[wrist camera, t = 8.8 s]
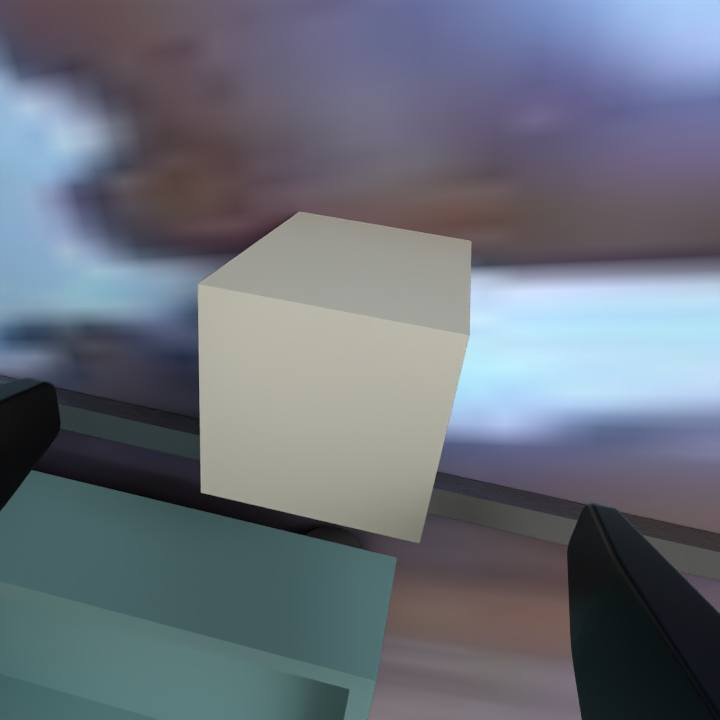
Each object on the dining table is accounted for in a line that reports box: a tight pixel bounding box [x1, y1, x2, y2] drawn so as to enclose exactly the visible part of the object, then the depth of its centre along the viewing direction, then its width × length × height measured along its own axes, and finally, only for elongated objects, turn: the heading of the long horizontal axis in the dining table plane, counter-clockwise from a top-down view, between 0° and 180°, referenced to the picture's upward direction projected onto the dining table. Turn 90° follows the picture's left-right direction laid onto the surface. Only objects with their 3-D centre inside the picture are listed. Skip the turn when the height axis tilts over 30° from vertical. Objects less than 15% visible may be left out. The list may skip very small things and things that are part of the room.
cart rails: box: [0, 375, 720, 580], centre depth 20 cm, size 16×29×2 cm, turn 83°
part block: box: [198, 212, 471, 543], centre depth 12 cm, size 4×4×6 cm
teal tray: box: [0, 470, 397, 720], centre depth 19 cm, size 11×16×5 cm
